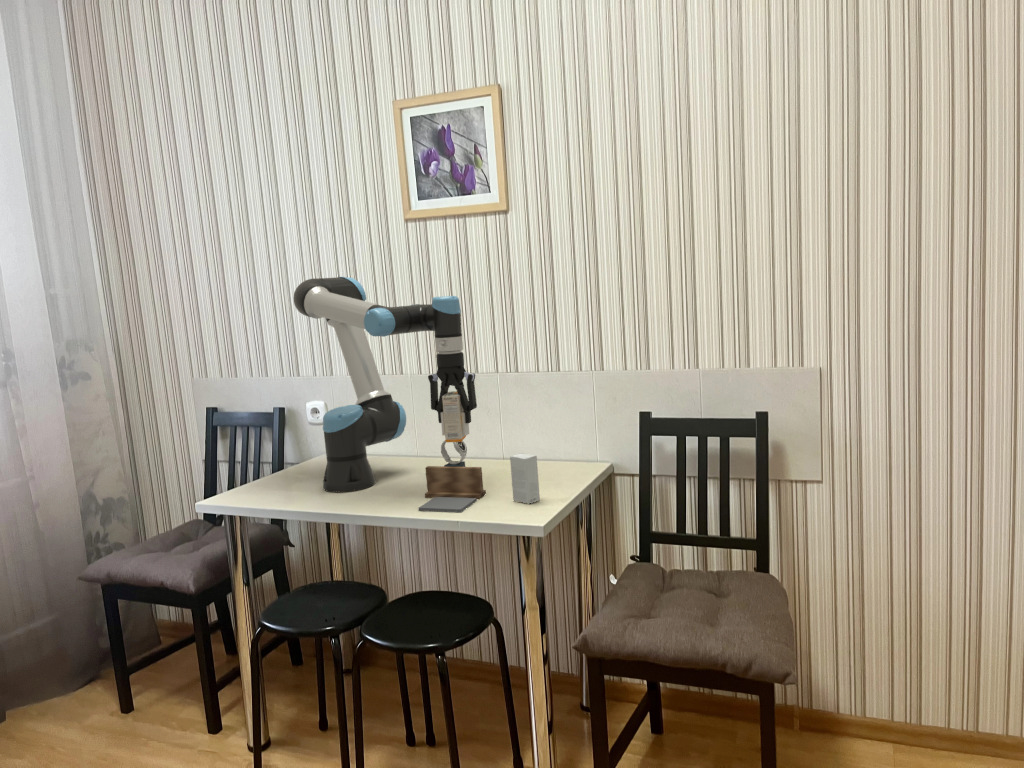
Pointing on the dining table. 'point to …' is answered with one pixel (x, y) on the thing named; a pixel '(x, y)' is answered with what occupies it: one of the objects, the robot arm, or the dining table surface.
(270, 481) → the dining table surface
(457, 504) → the pad
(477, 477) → the stepped wooden ledge
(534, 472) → the skincare box
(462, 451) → the watch
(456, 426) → the supplement box
